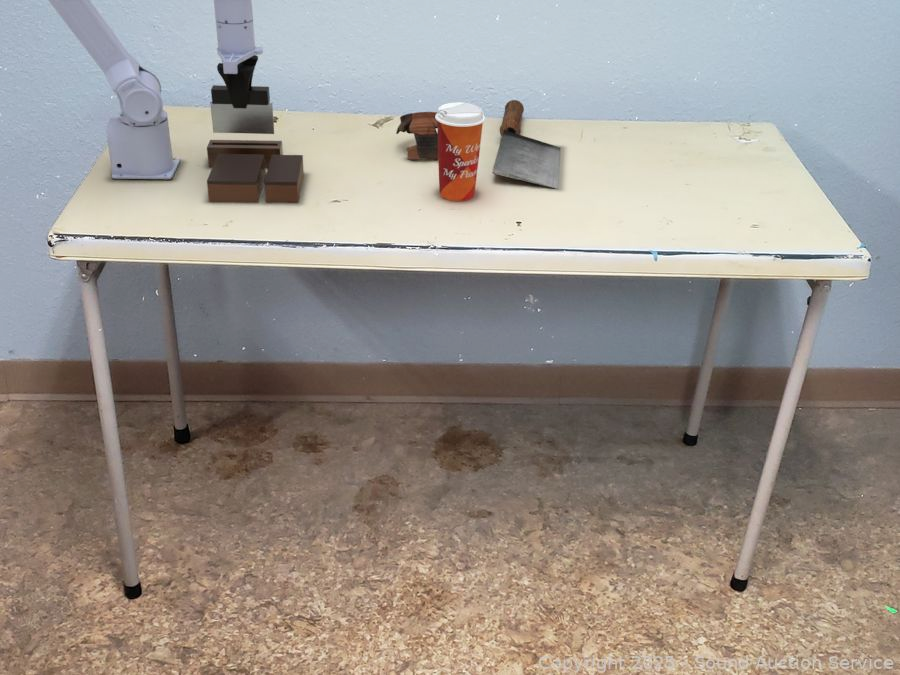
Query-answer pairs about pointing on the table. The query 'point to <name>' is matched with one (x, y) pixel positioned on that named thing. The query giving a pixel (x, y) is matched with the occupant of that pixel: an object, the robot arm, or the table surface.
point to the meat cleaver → (525, 152)
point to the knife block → (243, 149)
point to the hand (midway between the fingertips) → (241, 104)
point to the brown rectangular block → (284, 178)
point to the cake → (236, 178)
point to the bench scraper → (242, 112)
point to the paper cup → (458, 149)
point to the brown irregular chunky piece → (421, 134)
